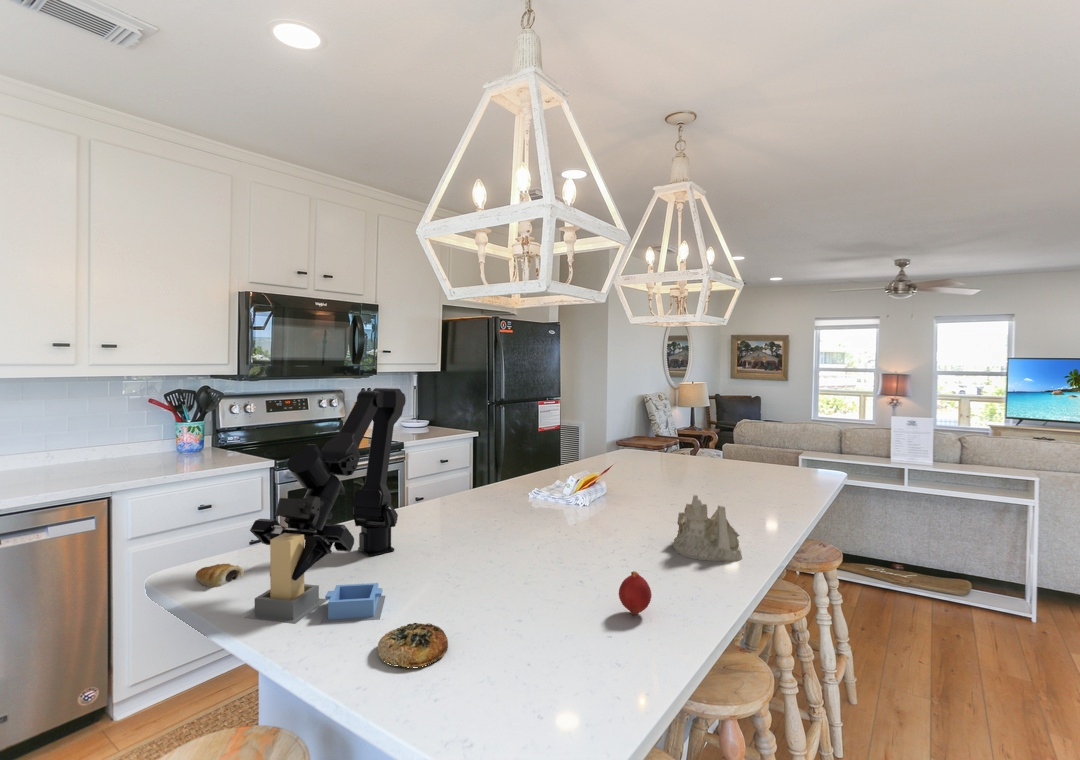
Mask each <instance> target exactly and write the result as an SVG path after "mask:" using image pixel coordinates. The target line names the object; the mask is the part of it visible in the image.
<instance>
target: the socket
mask: <svg viewBox="0 0 1080 760" xmlns="http://www.w3.org/2000/svg"><path fill="white" fill-rule="evenodd" d="M319 587H320V585H317V584H306V583H304V593H302V594H301V595H299V596H298V597H296V598H295V599H293V600H285V599H276V598H270V589H267V591H265V592H263V593H262V594H260V595H258V596H256V597H254V611H252V612H251V613H249V614H248V615H246V616H244V617H243V618H244V619H251V620H257V621H267V622H277V623H284V624H298V622H300V621H301V620H303V619H304V618H305V617H307V616H308V615H310V614H311V613H312V612H313V611H315V610H316V609H317V608H319V607H320V606H322V605H324V603H326V602H327V601H328V600H325V598H320V593H319V591H320V588H319Z"/></svg>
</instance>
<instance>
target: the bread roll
mask: <svg viewBox="0 0 1080 760" xmlns="http://www.w3.org/2000/svg"><path fill="white" fill-rule="evenodd" d="M377 645H378V646H377V653H378V654H377V655H378V657H379V658H380V659H381V661H382V660H383V661H385V662H386V663H389V664H391V665H398V666H399V667H400V666H402V668H405V667H409V668H410V669H411V668H413V667H422V666H425V665H428V664H430V663H432V664H434V663H436V662H437V661H439V660H440V659H442V658H443V657H444V656H445V654H446V653H447V652H448V648H449V642H448V637H447V635H446V633H445V631H444V630H443V629H442V628H441V627H439V626H437V625H435V624H433V623H430V622H427V623H417V622H413V623H408V624H407V625H401V626H400V627H397V628H395V629H392V630H390V631H388V632H387V633H385V634H384V635H383V636H382V637H380V639H379V641H378V643H377ZM442 656H443V657H442ZM383 661H382V662H383ZM435 661H436V662H435ZM385 662H384V663H385ZM433 662H434V663H433ZM430 665H431V664H430ZM428 666H429V665H428ZM425 667H426V666H425ZM422 668H423V667H422Z"/></svg>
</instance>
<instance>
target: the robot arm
mask: <svg viewBox="0 0 1080 760" xmlns="http://www.w3.org/2000/svg"><path fill="white" fill-rule="evenodd" d="M405 405H406V395H405V393H403V391H402V390H401V389H400V388H392V387H391V388H387V387H385V388H384V387H383V388H382V387H375V388H374V389H373V390H362V391H359V392H358V394H357V396H356V401H355V404H354V405H353V407H352V409H351V411H350V412H349V414H348V415H347V418H346V420H345V421H344V423H343V425H342V427H341V428H340V431H339V433H338V434H337V435H336V436H334V437H333V438H331V439H329V440H328V441H327V442H326V443H324V445H323V447H322V448H321V450H320V448H319V447H318V445H317V444H312V443H311V444H310V443H308V444H306V446H305V448H303V449H300V450H298V451H296V452H295V453H293V454H292V455H291V456H289V458H288V460H287V464H286V465H287V469H288V470H289V472H290V473H291V474H292V476H294V479H296V481H297V482H298V484H299V485H301V487H303V488H304V489H307V491H306V493H305V495H304V497H298V498H286V497H285V498H284V497H279V499H278V503H277V506H276V510H275V514H274V516H276V517H283V518H284V520H283V521H284V522H285V523H286V524H287V525H289V527H286V526H283V525H281V524H280V522H278V520H276V519H272V518H270V519H269V518H258V519H256V520H254V522H253V524H252V525H251V528H249V531H250V532H251V534H252V535H254V536H255V537H256V539H258V540H259V541H260V542H261V544H263V545H265V546H270V540H271V539H273V538H275V537H277V536H279V535H281V534H284V533H291V534H304V550H303V552H302V554H301V557H300V559H299V561H298V563H297V565H296V567H295V569H294V572H293V575H292V579H293V580H295V581H296V580H297V579H298V578H299V577H300V576H301V575H303V574H304V575H305V573H306V572H307V571H308V570H309V569H310V568H312V566H314V564H316V563H318V562H319V561H320V560H321V559H323V558H324V557H325V556H326V555H331V554H332V553H333V551H332V547H334V548H335V550H336V551H337V552H346V553H347V552H348V553H350V552H351V551H352V549H353V546H354V544H355V538H354V535H352V532H351V531H350V530H349V528H348V527H347V526H346V525H345V524H340V523H338V524H337V523H336V524H335V523H327V520H332V518H333V516H334V514H333V513H332V509H333V507H334V505H335V503H336V501H337V498H338V496H339V495H345V493H346V489H345V487H344V485H343V481H342V480H340V479H339V478H338V476H343V477H349V476H352V475H353V474H354V473H355V471H356V470H357V468H358V466H359V461H360V458H361V455H360V450H359V448H360V445H361V443H362V441H363V439H364V437H365V435H366V433H367V431H368V429H369V427H370V425H371V423H373V425H372V430H371V431H372V432H371V437H370V438H371V439H370V446H369V451H368V452H369V453H368V460H367V466H366V474H365V480H364V481H365V482H364V483H363V484H362V486H361V487H360V488H357V489H356V490H355V491H354V500H353V503H352V516H353V520H354V524H355V525H354V526H355V527H360V528H361V529H360V532H359V535H358V541H359V542H358V546H359V547H357V550H358V551H359V552H361V553H363V554H364V555H366V556H369V557H373V556H377V555H380V554H385V553H390V552H395V547H393V546H392V528H394V527H396V525H397V524H398V516H399V515H398V512H397V511H396V510H395V508H394V506H393V505H392V494H391V492H390V490H389V488H388V484H387V481H388V473H389V467H390V466H389V464H390V457H391V452H392V450H391V449H392V443H393V434H394V427H395V425H396V423H397V422H398V420H399V419H400V418H401V417H402V416H403V411H404V407H405Z"/></svg>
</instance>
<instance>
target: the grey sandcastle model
mask: <svg viewBox="0 0 1080 760" xmlns="http://www.w3.org/2000/svg"><path fill="white" fill-rule="evenodd" d="M677 526H678V530H677V534H676V535H677V536H676V537H675V538H674V539H673V544H672V548H673V549H674V550H675V552H677V553H678V554H679V553H680V556H684V557H686V558H690V559H695V560H701V561H715V562H727V561H728V563H731V562H732V563H733V562H734V561H735V562H739V561H741V560H743V555H742V549H741V547H740V544H739V543H740V540H739V539H738V537H740V536H741V535H740V534H739V533H738V531H737V530H736V528H735V527H733V525H731V524H730V522H729V520H728V519H727V514H726V507H725V505H724V504H718V505H717V509H716V510H715V511H714V513H713V514H712V515H711V517H708V504H707V503H702V501H701V499H699V496H698V495H697V494H693V496H692V502H691V503H686V504H685V507H684V510H683V512H682V511H679V512H678V517H677ZM735 562H734V563H735Z"/></svg>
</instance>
